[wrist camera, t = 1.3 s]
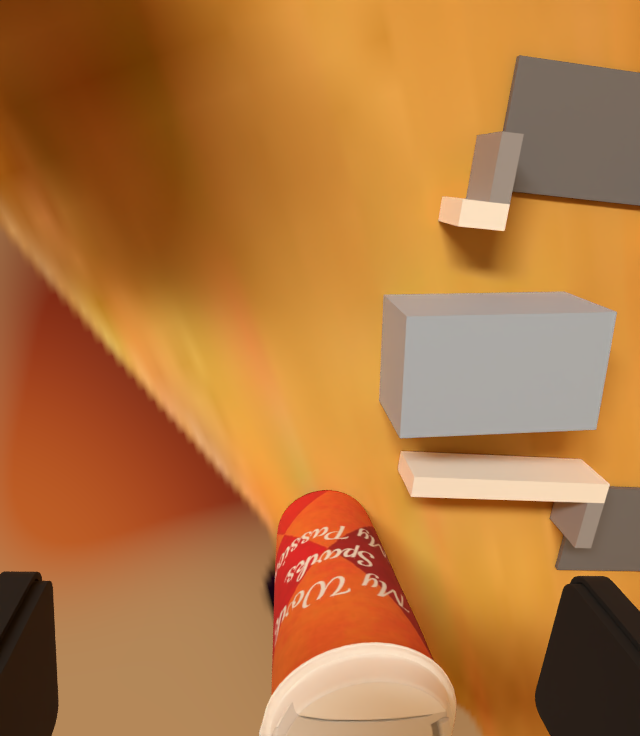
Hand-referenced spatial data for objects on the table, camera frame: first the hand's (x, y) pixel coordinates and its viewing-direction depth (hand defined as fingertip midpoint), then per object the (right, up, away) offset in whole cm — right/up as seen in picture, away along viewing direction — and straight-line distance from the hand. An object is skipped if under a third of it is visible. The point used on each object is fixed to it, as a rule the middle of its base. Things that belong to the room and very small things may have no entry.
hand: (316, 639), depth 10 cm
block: (+8, +6, +21) cm, 24 cm away
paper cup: (0, -5, +24) cm, 25 cm away
